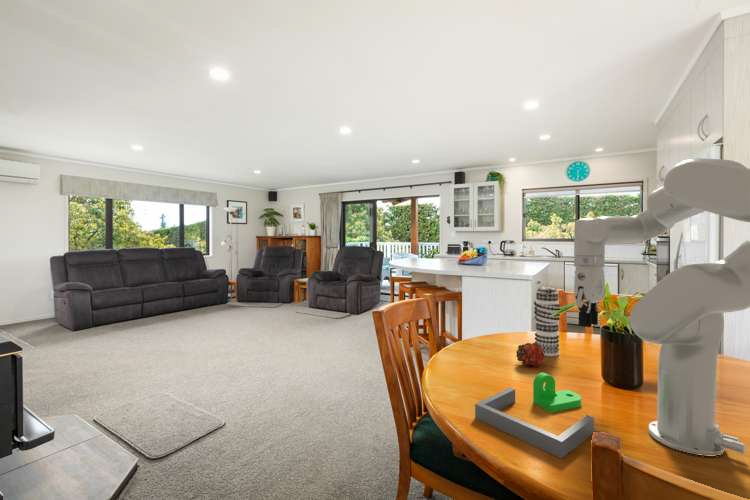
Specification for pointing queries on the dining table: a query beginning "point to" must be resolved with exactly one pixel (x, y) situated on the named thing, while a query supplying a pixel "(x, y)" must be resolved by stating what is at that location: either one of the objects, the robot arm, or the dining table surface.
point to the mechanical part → (553, 395)
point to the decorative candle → (547, 320)
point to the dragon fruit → (530, 354)
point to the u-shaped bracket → (531, 426)
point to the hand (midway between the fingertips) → (588, 324)
